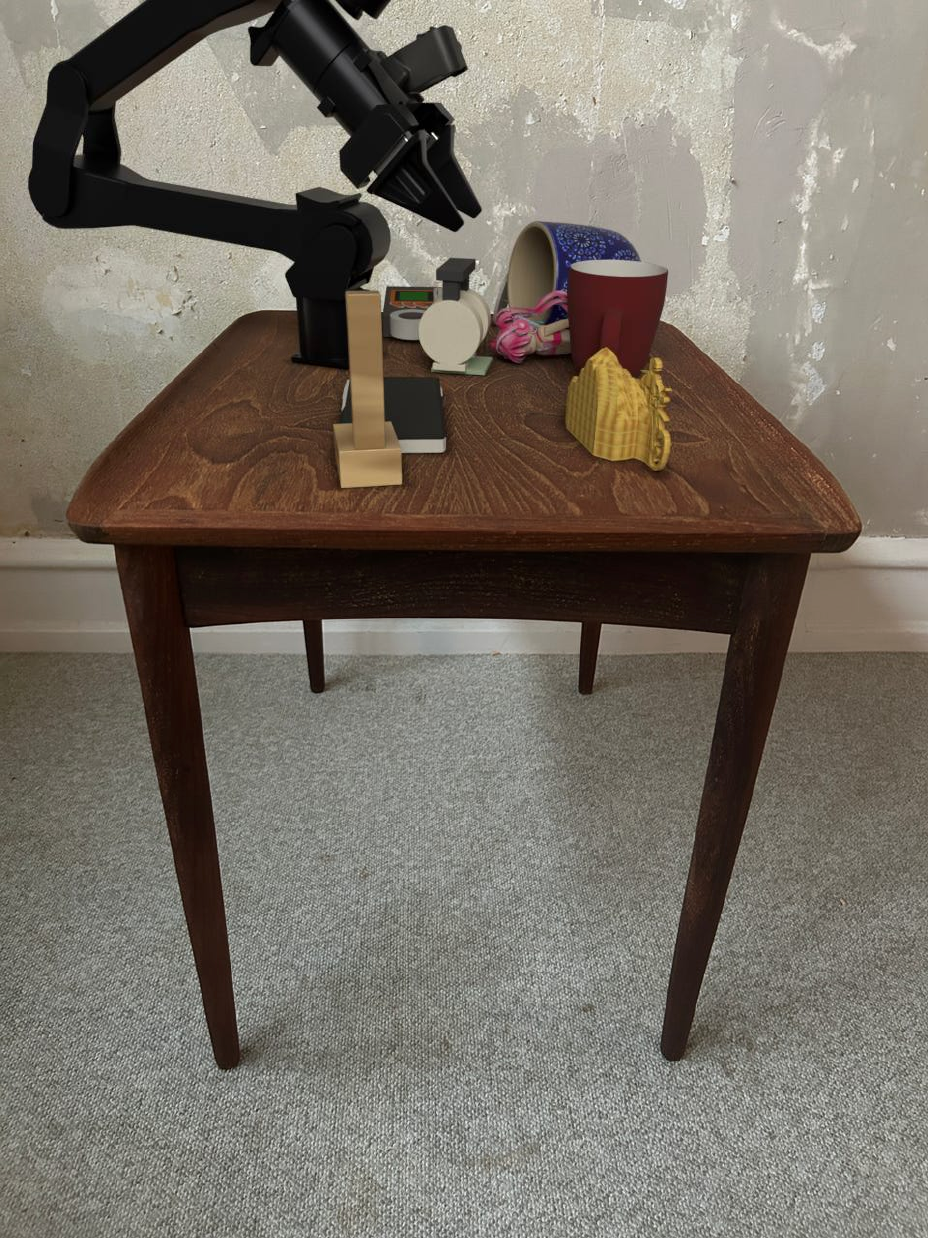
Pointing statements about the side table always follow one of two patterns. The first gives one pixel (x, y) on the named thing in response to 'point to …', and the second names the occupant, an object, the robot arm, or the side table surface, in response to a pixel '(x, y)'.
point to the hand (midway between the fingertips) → (469, 220)
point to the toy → (532, 331)
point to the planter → (557, 262)
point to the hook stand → (366, 402)
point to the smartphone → (410, 412)
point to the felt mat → (473, 366)
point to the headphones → (454, 318)
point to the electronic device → (406, 310)
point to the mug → (615, 310)
